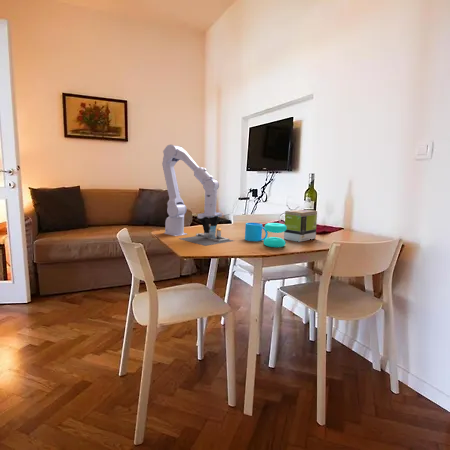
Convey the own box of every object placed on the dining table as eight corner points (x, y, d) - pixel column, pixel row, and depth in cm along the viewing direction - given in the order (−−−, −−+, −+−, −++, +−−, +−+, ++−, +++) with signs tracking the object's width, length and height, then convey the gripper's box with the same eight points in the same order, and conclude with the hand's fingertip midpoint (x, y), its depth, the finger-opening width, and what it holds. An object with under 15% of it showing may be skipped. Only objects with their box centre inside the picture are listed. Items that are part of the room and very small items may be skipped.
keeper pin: (215, 239, 162) (215, 229, 161) (218, 239, 163) (218, 228, 162) (218, 240, 160) (218, 229, 160) (221, 240, 162) (221, 229, 161)
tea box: (299, 236, 184) (301, 208, 182) (316, 239, 177) (318, 210, 175) (282, 239, 173) (284, 210, 171) (299, 242, 166) (302, 212, 164)
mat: (178, 239, 161) (178, 238, 161) (207, 235, 174) (207, 234, 174) (205, 246, 148) (205, 245, 148) (234, 241, 161) (234, 240, 161)
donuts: (279, 222, 161) (291, 225, 152) (277, 243, 162) (289, 247, 153) (260, 222, 157) (271, 226, 148) (259, 244, 158) (270, 248, 149)
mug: (241, 240, 166) (242, 223, 164) (250, 238, 172) (251, 222, 171) (262, 244, 158) (263, 226, 157) (271, 241, 165) (272, 225, 164)
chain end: (193, 235, 169) (194, 223, 168) (204, 234, 174) (204, 222, 173) (218, 242, 157) (219, 229, 156) (229, 240, 162) (229, 227, 161)
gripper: (205, 205, 156) (204, 235, 158) (226, 204, 166) (225, 232, 168) (194, 204, 161) (194, 232, 163) (216, 203, 171) (215, 230, 173)
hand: (209, 232), depth 166 cm, fingers closed on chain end, 4 cm apart
